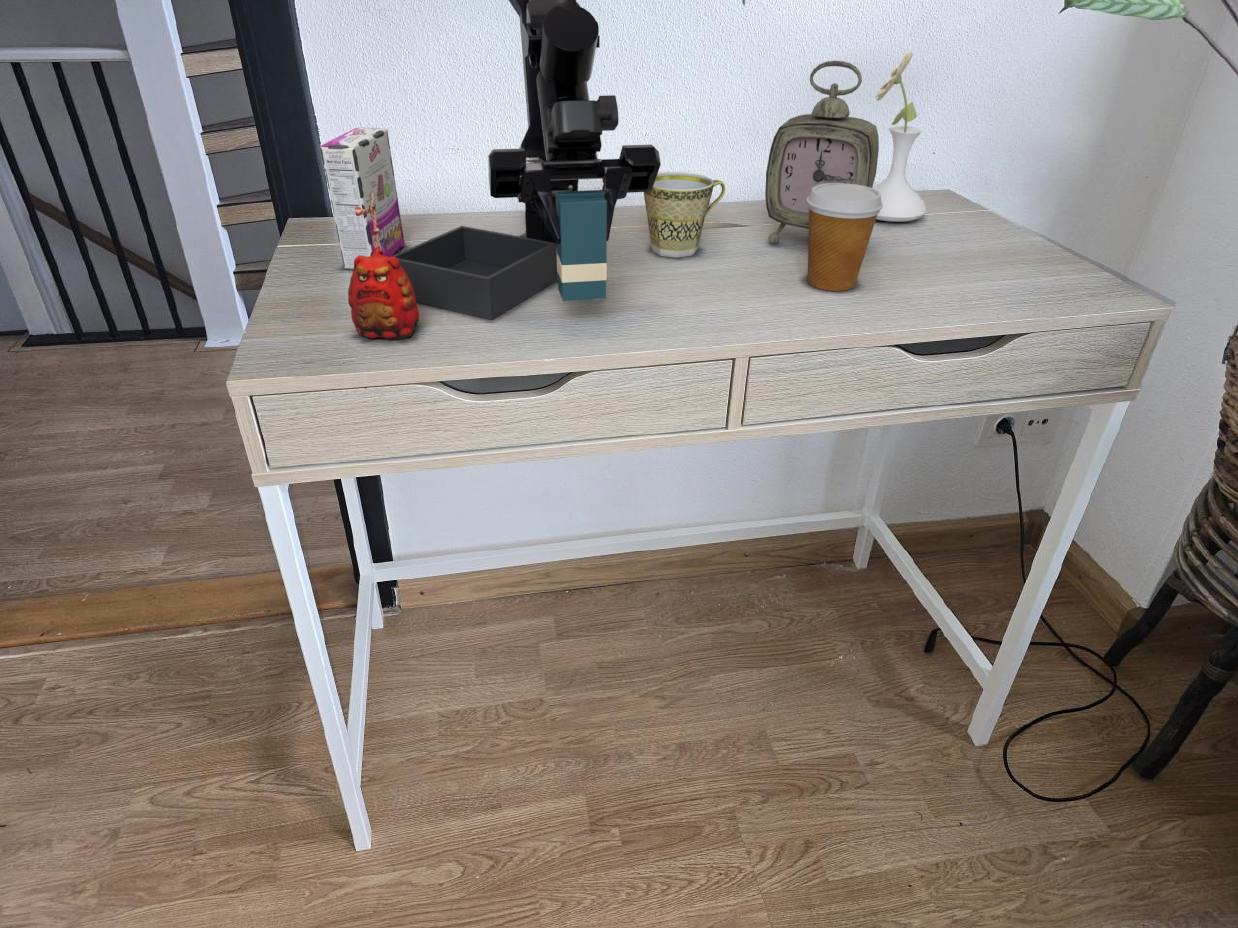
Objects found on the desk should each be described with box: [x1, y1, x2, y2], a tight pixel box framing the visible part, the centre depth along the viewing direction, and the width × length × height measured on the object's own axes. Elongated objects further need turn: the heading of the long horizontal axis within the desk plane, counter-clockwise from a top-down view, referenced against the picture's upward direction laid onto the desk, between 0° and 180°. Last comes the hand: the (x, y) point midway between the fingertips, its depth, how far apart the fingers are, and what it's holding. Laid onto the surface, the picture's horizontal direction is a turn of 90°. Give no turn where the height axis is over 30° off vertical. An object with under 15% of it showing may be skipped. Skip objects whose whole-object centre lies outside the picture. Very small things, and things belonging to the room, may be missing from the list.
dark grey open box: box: [391, 225, 558, 321], centre depth 104 cm, size 15×15×5 cm
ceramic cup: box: [643, 171, 726, 259], centre depth 117 cm, size 13×10×10 cm
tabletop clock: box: [764, 60, 880, 245], centre depth 116 cm, size 14×9×25 cm, turn 68°
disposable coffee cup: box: [806, 183, 883, 292], centre depth 106 cm, size 10×10×12 cm
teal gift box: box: [555, 189, 608, 302], centre depth 91 cm, size 4×5×12 cm
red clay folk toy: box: [347, 193, 420, 341], centre depth 90 cm, size 8×7×15 cm
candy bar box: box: [319, 126, 406, 271], centre depth 111 cm, size 11×5×16 cm, turn 171°
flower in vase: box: [872, 51, 928, 223], centre depth 128 cm, size 13×11×25 cm
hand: (582, 241), depth 89 cm, fingers closed on teal gift box, 5 cm apart
